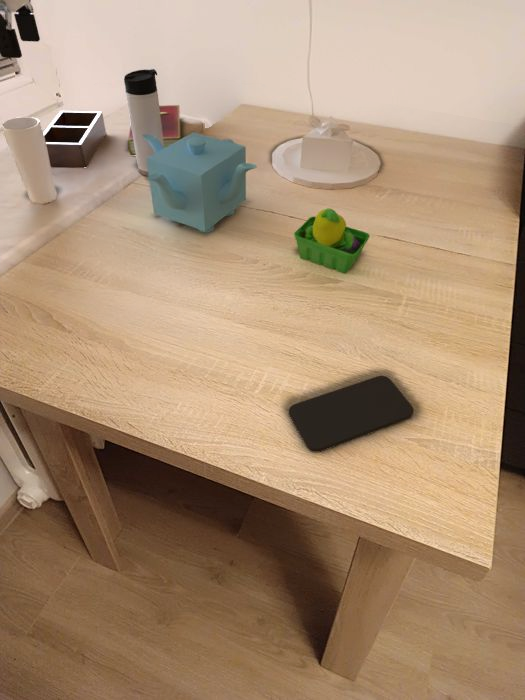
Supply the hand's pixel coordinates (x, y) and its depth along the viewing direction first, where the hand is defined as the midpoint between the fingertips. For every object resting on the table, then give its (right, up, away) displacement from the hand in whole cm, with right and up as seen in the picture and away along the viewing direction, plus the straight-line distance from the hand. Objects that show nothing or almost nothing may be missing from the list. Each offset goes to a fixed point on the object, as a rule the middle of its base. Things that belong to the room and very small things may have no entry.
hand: (21, 48), depth 85 cm
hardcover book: (+15, +2, +40) cm, 42 cm away
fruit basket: (+52, -36, +3) cm, 64 cm away
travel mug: (+17, -11, +27) cm, 34 cm away
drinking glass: (-3, -21, +17) cm, 27 cm away
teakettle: (+29, -26, +13) cm, 40 cm away
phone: (+52, -60, -21) cm, 82 cm away
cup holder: (-3, -4, +34) cm, 34 cm away
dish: (+56, -8, +31) cm, 64 cm away
